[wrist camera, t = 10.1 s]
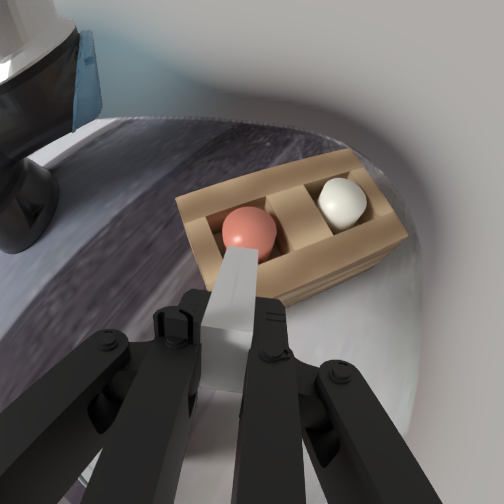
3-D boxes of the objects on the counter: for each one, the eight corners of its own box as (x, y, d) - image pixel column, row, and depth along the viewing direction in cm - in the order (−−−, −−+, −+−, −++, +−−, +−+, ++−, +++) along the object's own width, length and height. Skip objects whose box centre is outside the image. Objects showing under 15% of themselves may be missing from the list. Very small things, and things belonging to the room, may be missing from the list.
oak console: (188, 239, 34) (175, 198, 26) (329, 191, 38) (349, 148, 30) (224, 333, 30) (220, 318, 22) (373, 266, 34) (408, 235, 26)
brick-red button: (217, 238, 29) (214, 216, 25) (259, 223, 30) (263, 200, 26) (234, 279, 27) (234, 262, 23) (278, 262, 28) (285, 243, 24)
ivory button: (304, 208, 31) (314, 184, 27) (338, 196, 32) (350, 173, 28) (324, 243, 29) (338, 223, 25) (358, 230, 30) (374, 209, 26)
